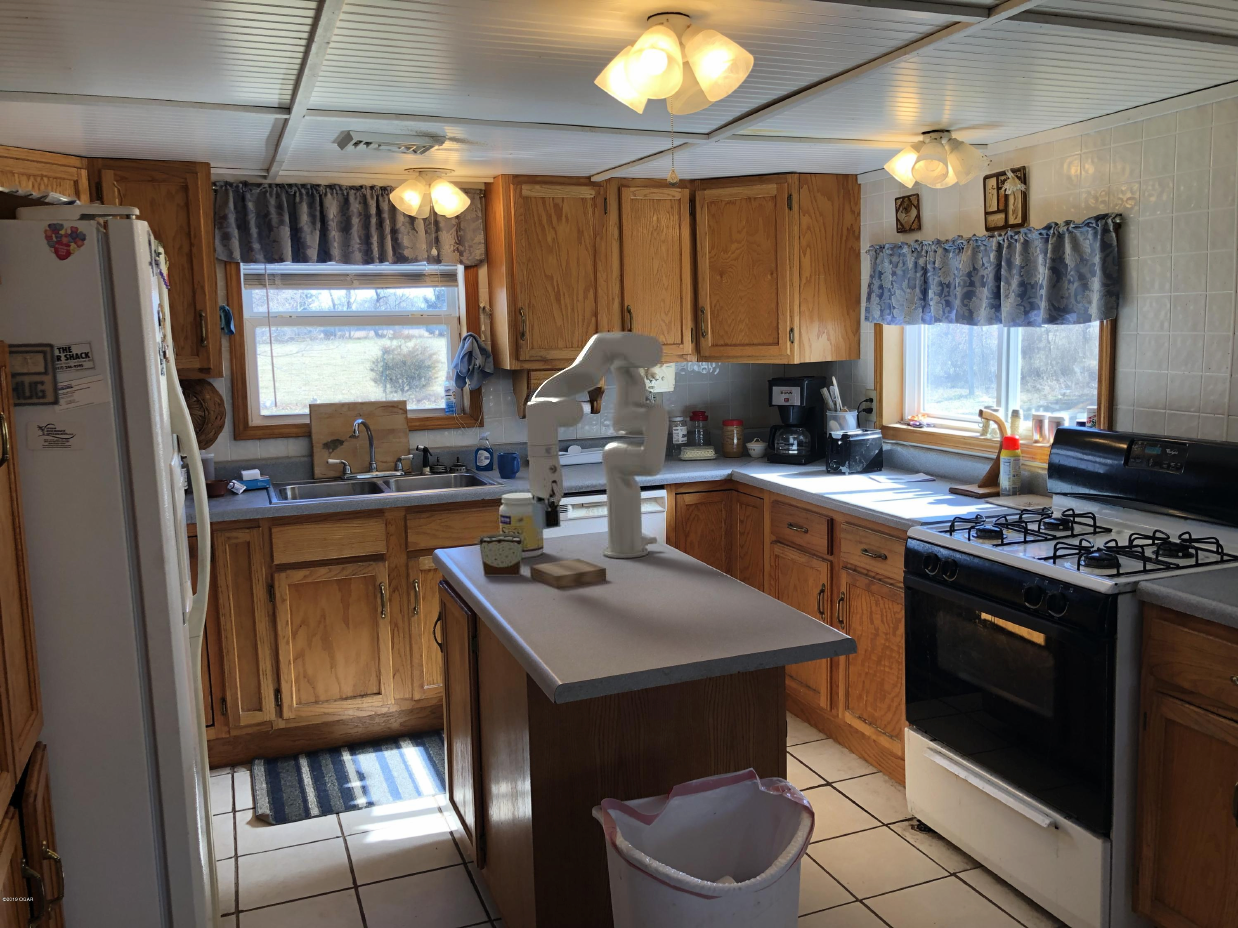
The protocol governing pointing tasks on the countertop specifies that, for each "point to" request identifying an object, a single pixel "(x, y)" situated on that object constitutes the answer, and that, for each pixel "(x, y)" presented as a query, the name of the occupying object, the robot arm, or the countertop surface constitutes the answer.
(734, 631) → the countertop surface
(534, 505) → the slate block
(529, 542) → the supplement tub
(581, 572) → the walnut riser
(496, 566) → the food container
